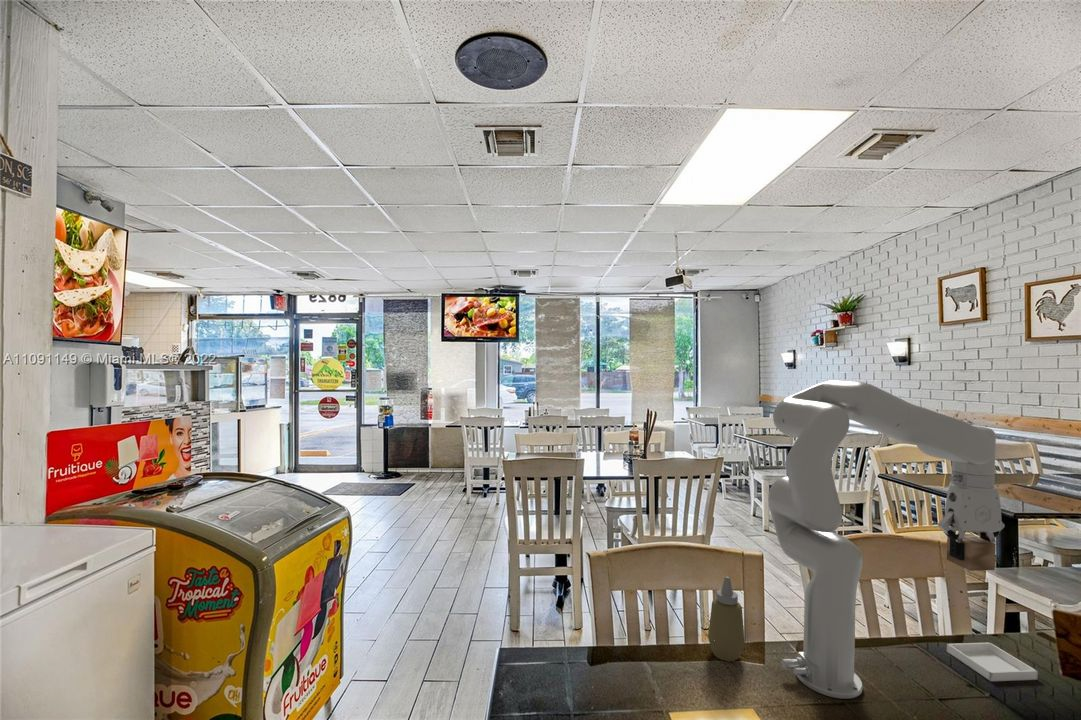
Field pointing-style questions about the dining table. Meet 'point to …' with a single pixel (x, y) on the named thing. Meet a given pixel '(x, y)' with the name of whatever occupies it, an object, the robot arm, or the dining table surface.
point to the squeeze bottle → (726, 624)
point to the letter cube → (975, 554)
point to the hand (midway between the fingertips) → (970, 557)
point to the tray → (992, 662)
